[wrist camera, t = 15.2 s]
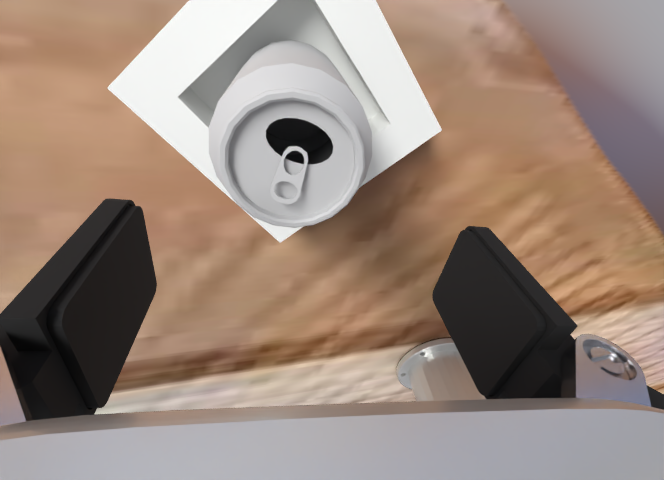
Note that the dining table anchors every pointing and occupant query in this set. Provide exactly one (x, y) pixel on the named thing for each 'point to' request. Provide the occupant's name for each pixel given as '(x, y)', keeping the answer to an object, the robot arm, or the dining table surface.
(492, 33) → the dining table surface
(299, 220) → the can
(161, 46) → the riser
